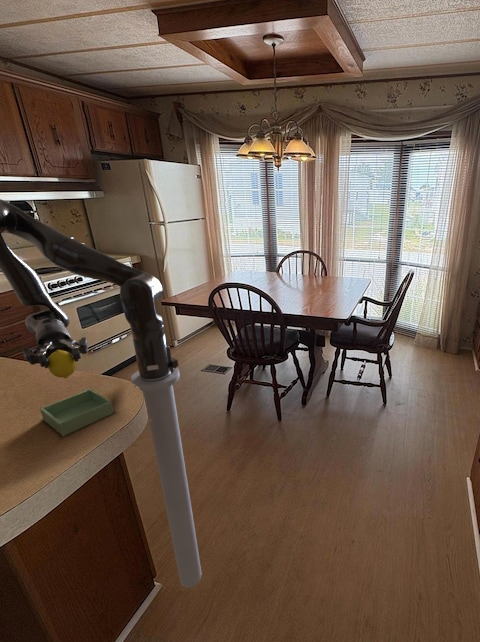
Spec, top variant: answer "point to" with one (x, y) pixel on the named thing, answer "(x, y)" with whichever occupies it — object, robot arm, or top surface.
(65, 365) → the lemon
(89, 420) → the bin
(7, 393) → the top surface
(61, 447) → the top surface
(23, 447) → the top surface
